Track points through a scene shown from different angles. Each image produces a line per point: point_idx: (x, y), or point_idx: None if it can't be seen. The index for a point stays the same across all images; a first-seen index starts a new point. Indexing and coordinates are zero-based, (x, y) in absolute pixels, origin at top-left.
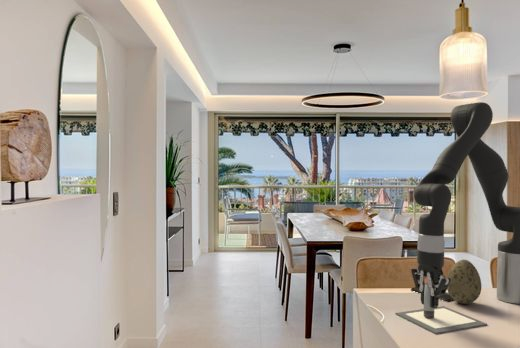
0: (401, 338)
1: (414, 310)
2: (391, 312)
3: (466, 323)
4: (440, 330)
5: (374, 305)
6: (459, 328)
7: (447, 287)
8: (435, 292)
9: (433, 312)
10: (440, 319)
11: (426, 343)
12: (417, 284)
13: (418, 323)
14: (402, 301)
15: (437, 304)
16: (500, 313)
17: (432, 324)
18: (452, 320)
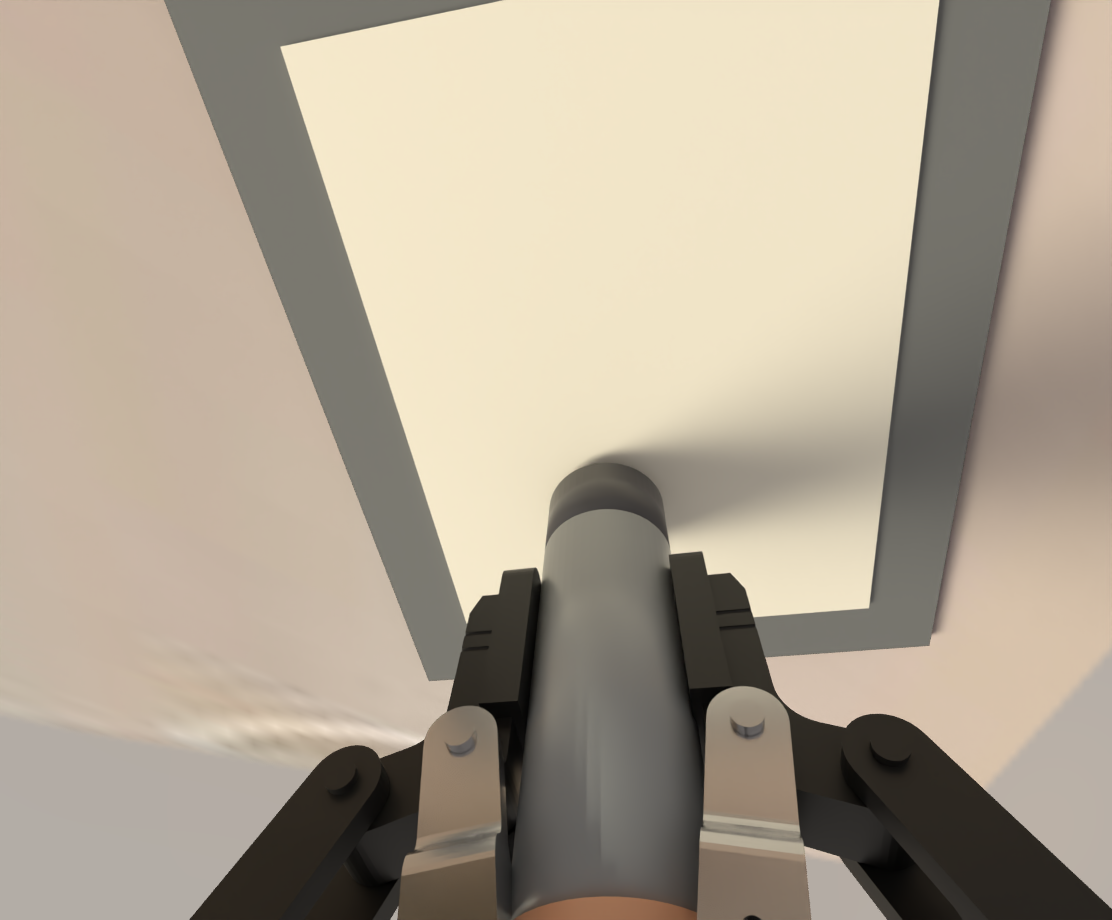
0: None
1: (364, 501)
2: (383, 675)
3: (918, 166)
4: (913, 584)
5: (206, 706)
6: (978, 380)
7: (1110, 917)
8: (801, 827)
9: (665, 532)
10: (692, 421)
11: (1007, 763)
12: (397, 899)
13: None
14: (6, 421)
15: (746, 609)
16: None
17: (781, 577)
18: (766, 298)
